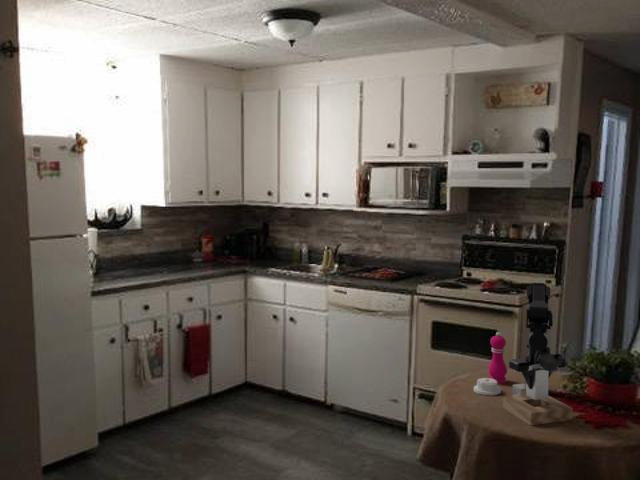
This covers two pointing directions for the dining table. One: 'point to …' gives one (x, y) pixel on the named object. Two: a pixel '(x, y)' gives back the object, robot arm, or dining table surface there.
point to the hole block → (537, 409)
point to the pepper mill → (498, 359)
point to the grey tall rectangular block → (538, 384)
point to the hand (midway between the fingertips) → (537, 388)
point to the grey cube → (519, 389)
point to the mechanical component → (487, 387)
